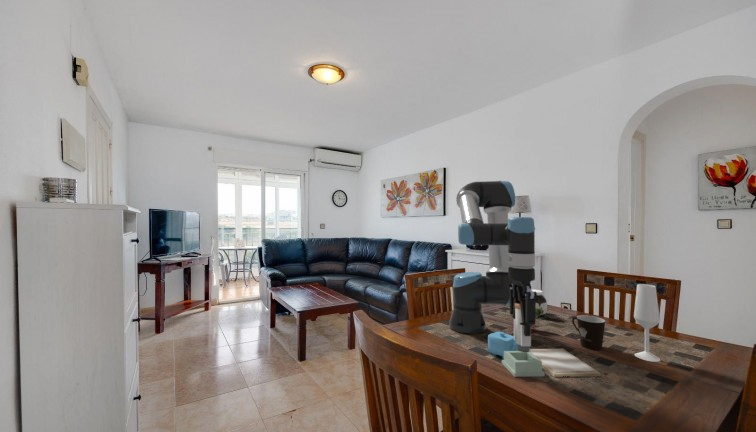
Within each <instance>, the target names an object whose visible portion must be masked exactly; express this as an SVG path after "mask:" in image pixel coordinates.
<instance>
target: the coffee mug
mask: <svg viewBox="0 0 756 432" xmlns="http://www.w3.org/2000/svg"><path fill="white" fill-rule="evenodd" d="M575 319H576V321H577V326H576V324H575ZM571 322H572V325H573V327H574V328H575V329H576V331H577V332H578V336H579V340H580V341H579V342H580V346H581V347H583V348H584V349H588V350H592V351H601V350H603V349H602V348H603V342H604V341H603V340H604V334H605V328H606V327H605V325H606V320H605V319H604V318H601V317H598V316H593V315H577V316H576V317H575V316H574V317H572V320H571Z"/></svg>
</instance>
